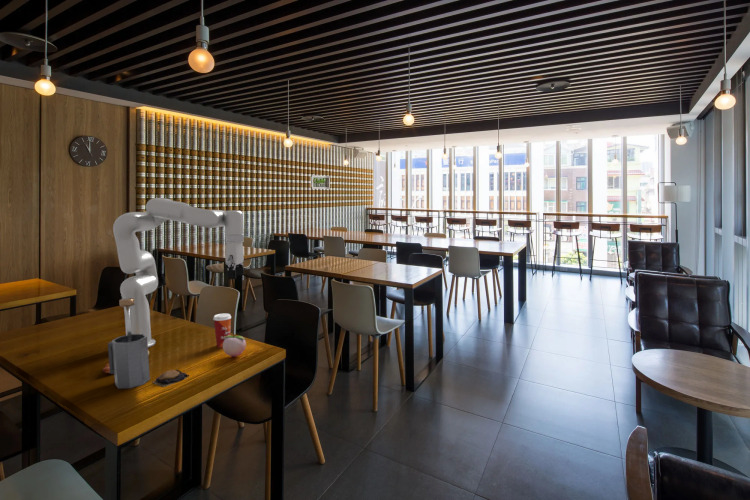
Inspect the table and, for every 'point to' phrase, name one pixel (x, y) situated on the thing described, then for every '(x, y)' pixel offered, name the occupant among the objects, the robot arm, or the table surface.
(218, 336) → the paper cup
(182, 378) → the abalone
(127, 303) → the plunger
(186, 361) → the table surface
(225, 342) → the decorative fruit
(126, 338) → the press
